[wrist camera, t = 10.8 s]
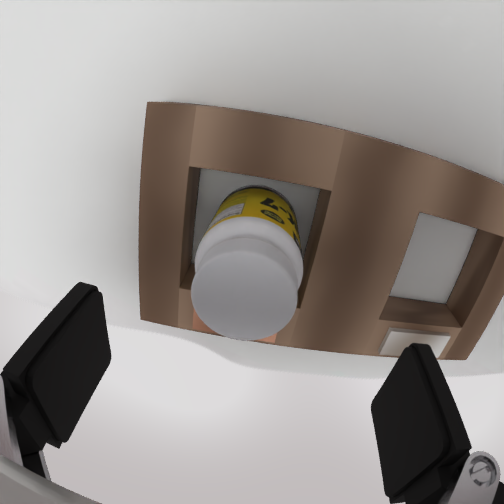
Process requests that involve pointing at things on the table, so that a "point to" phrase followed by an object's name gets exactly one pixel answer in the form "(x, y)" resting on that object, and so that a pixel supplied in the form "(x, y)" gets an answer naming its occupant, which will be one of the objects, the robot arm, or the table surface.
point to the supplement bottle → (249, 266)
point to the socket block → (322, 228)
